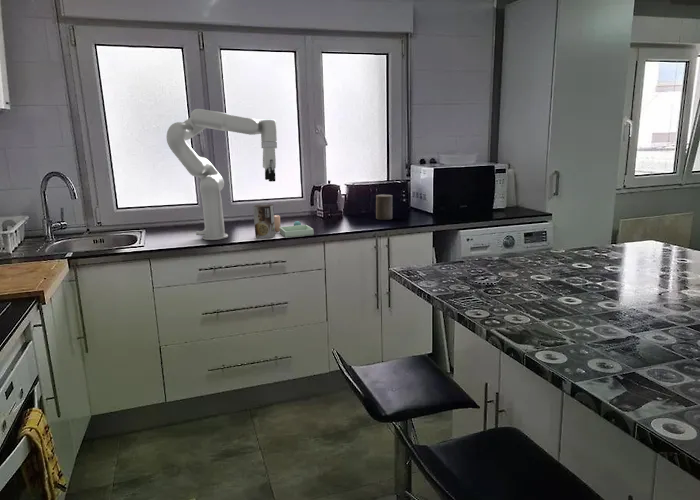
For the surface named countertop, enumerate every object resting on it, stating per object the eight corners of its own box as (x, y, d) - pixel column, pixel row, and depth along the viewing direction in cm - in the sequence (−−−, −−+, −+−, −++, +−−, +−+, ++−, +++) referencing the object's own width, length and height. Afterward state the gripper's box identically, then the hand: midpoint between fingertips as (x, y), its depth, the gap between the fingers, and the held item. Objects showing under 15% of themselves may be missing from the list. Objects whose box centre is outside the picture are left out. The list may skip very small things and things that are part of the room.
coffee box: (275, 235, 261) (273, 204, 257) (272, 238, 255) (270, 205, 251) (258, 235, 262) (256, 204, 258) (255, 238, 256) (252, 206, 252)
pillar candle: (378, 220, 295) (378, 194, 292) (374, 217, 304) (373, 192, 301) (394, 219, 298) (394, 193, 294) (389, 216, 307) (389, 191, 303)
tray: (285, 237, 254) (285, 231, 253) (279, 232, 268) (279, 227, 267) (313, 235, 258) (313, 229, 258) (306, 230, 272) (306, 224, 271)
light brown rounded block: (268, 232, 269) (267, 217, 267) (266, 230, 275) (265, 215, 274) (282, 231, 271) (281, 216, 269) (279, 229, 278) (278, 214, 276)
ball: (294, 229, 276) (294, 222, 275) (293, 228, 279) (292, 220, 278) (302, 228, 277) (301, 221, 276) (300, 227, 281) (299, 220, 280)
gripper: (258, 144, 256) (259, 179, 260) (264, 145, 240) (265, 182, 244) (273, 144, 258) (274, 178, 262) (280, 145, 243) (281, 181, 246)
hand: (270, 180), depth 253 cm, fingers open, 9 cm apart
